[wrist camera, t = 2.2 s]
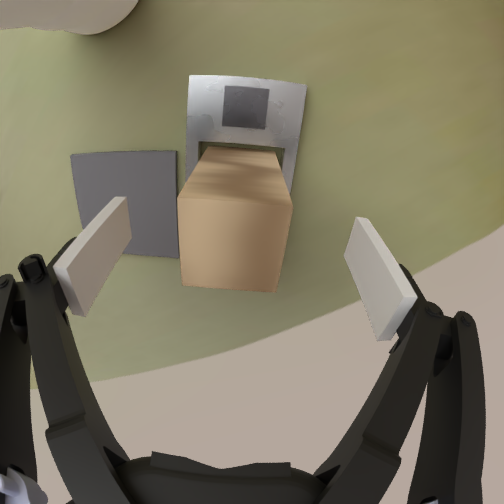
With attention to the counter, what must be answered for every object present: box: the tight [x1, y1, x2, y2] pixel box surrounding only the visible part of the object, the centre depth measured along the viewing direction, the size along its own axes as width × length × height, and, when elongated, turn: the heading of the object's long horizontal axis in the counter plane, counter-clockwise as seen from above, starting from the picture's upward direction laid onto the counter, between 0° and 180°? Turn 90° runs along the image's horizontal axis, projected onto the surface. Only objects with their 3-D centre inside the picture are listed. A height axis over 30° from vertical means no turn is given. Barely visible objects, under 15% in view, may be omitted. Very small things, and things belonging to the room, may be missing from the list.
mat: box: [70, 151, 180, 258], centre depth 22 cm, size 10×10×1 cm
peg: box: [177, 146, 293, 292], centre depth 17 cm, size 5×5×10 cm
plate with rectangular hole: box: [186, 75, 307, 195], centre depth 21 cm, size 8×16×1 cm, turn 174°
